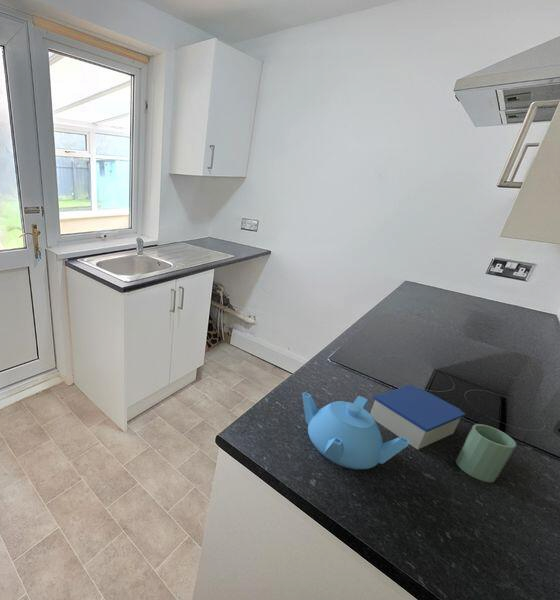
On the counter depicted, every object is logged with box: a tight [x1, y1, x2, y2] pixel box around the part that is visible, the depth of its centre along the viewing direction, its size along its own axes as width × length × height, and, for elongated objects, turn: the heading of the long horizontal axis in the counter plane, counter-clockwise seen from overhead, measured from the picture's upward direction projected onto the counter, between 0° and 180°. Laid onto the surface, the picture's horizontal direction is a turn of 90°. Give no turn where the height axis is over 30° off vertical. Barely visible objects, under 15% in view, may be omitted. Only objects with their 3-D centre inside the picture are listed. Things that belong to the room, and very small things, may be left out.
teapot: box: [301, 391, 410, 470], centre depth 65 cm, size 15×15×11 cm
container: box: [369, 384, 466, 450], centre depth 75 cm, size 16×12×6 cm
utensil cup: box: [455, 423, 517, 483], centre depth 62 cm, size 6×6×9 cm
